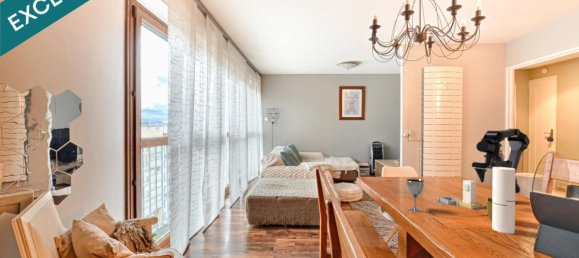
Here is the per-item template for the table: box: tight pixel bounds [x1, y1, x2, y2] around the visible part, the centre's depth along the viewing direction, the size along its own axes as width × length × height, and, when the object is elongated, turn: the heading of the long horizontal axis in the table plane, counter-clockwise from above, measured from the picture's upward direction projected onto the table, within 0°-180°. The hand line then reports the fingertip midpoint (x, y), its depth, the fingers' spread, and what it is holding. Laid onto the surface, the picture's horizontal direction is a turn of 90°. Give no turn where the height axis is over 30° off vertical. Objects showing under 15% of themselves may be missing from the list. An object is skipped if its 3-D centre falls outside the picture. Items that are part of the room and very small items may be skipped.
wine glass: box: [406, 178, 425, 213], centre depth 134 cm, size 8×8×15 cm
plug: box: [462, 179, 477, 204], centre depth 138 cm, size 4×4×13 cm
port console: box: [435, 196, 487, 211], centre depth 142 cm, size 12×20×3 cm, turn 41°
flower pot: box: [485, 196, 492, 222], centre depth 119 cm, size 9×9×9 cm
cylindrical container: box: [491, 166, 516, 235], centre depth 108 cm, size 7×7×25 cm
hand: (490, 183), depth 142 cm, fingers open, 9 cm apart
